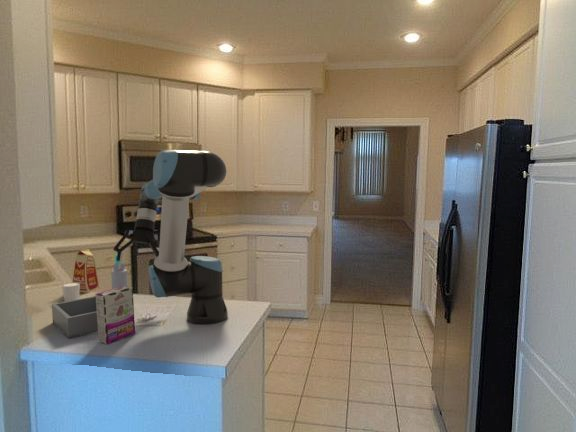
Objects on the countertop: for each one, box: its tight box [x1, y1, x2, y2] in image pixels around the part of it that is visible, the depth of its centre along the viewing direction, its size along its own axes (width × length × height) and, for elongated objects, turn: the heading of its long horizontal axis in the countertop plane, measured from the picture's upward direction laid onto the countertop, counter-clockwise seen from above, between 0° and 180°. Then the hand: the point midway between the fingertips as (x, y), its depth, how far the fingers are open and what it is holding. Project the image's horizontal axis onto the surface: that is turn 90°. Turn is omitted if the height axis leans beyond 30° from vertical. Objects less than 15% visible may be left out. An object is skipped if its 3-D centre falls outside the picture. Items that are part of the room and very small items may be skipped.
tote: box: [51, 295, 98, 340], centre depth 154 cm, size 20×16×7 cm
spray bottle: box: [110, 253, 129, 289], centre depth 173 cm, size 6×6×22 cm
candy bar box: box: [95, 285, 136, 345], centre depth 142 cm, size 11×5×16 cm, turn 148°
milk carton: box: [71, 248, 100, 294], centre depth 200 cm, size 9×9×20 cm
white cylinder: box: [61, 282, 80, 302], centre depth 184 cm, size 7×7×7 cm
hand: (136, 271), depth 169 cm, fingers open, 13 cm apart
